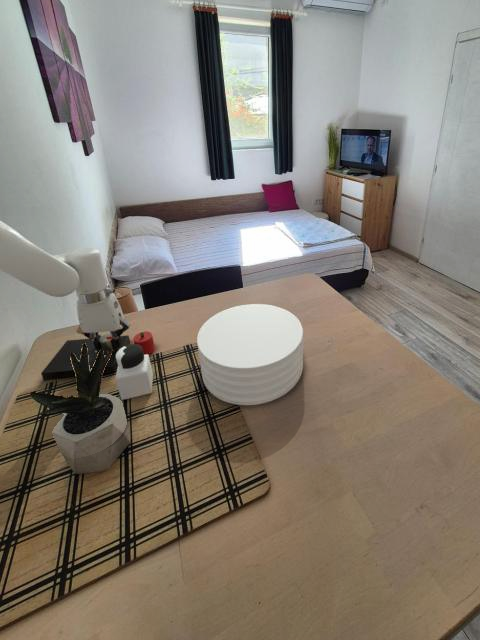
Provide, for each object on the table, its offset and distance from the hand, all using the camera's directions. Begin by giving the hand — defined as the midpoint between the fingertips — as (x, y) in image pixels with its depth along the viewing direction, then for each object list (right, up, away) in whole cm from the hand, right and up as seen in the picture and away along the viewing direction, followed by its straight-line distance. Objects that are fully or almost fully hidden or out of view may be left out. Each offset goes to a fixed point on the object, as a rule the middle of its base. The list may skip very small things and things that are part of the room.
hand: (109, 348), depth 94 cm
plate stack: (+42, -4, -2) cm, 42 cm away
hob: (-6, -3, +1) cm, 7 cm away
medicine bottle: (+13, -8, -9) cm, 17 cm away
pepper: (+9, -2, +4) cm, 10 cm away
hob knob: (0, -1, 0) cm, 1 cm away
